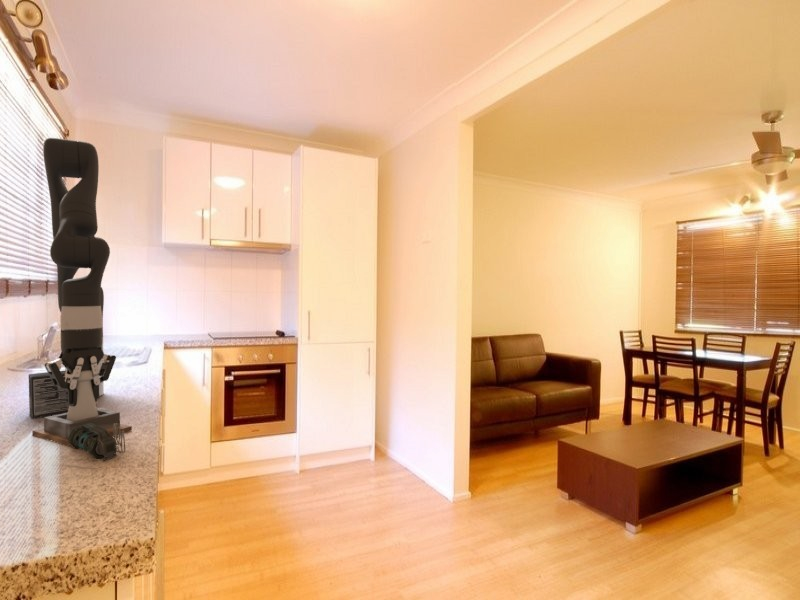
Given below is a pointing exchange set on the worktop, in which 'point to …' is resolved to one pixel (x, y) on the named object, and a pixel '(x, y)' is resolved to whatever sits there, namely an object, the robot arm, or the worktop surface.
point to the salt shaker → (83, 399)
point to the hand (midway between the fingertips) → (82, 403)
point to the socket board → (78, 425)
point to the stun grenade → (96, 441)
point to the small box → (45, 396)
